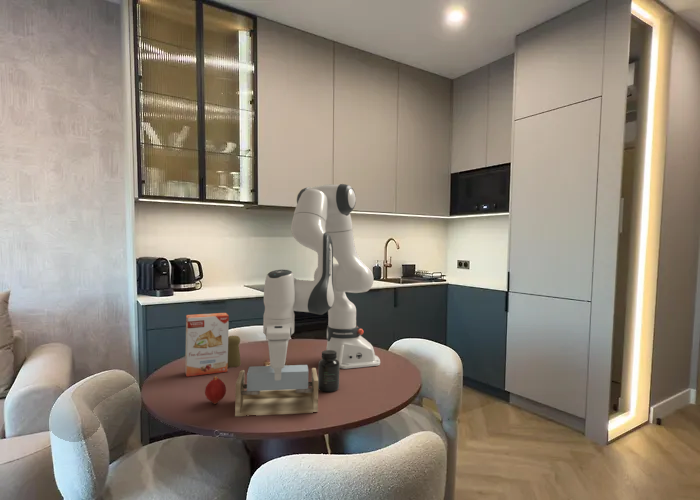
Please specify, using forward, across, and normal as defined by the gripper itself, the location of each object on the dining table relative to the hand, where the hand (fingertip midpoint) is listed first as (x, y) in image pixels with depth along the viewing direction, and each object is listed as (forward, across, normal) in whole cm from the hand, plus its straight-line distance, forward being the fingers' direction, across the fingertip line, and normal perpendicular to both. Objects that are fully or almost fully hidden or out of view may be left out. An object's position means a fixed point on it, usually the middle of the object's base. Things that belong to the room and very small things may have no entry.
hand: (278, 374), depth 113 cm
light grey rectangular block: (+4, 0, 0) cm, 4 cm away
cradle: (+9, 0, 0) cm, 9 cm away
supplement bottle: (+10, -12, +16) cm, 22 cm away
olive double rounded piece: (+10, -40, -18) cm, 45 cm away
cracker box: (+10, -32, -26) cm, 42 cm away
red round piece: (+10, -4, -18) cm, 21 cm away
